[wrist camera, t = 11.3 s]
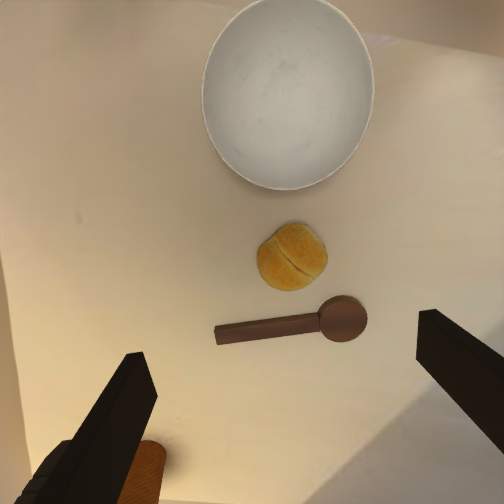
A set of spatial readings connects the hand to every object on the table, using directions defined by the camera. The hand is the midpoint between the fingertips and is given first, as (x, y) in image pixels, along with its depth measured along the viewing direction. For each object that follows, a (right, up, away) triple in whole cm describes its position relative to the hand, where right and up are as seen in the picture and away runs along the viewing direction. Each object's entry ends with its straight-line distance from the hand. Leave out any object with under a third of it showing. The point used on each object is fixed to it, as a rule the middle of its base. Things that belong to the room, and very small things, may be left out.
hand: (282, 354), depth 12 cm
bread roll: (+4, +5, +22) cm, 23 cm away
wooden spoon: (+4, -6, +25) cm, 26 cm away
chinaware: (+1, +20, +17) cm, 27 cm away
